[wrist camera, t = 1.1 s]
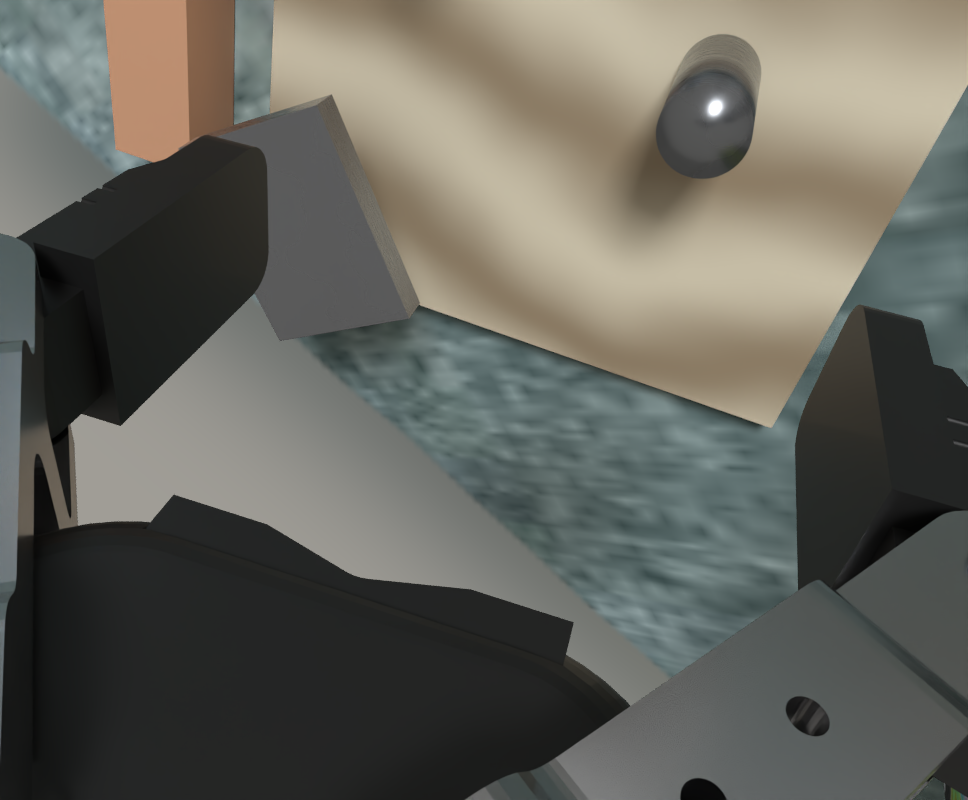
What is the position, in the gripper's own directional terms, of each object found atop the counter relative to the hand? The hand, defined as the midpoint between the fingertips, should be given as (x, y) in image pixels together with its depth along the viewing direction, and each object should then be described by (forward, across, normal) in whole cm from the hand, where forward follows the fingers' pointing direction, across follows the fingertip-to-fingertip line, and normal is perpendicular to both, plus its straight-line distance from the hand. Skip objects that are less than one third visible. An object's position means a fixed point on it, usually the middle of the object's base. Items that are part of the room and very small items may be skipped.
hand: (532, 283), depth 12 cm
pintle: (+18, -2, +2) cm, 18 cm away
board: (+18, +2, +3) cm, 19 cm away
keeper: (+17, +9, +8) cm, 21 cm away
